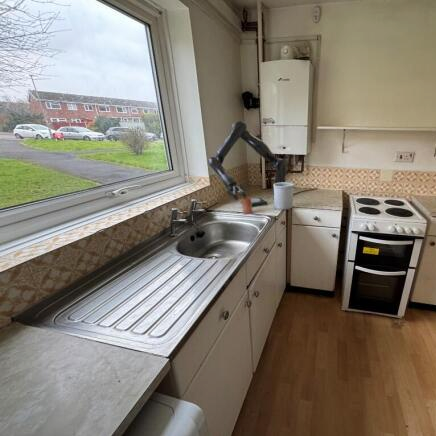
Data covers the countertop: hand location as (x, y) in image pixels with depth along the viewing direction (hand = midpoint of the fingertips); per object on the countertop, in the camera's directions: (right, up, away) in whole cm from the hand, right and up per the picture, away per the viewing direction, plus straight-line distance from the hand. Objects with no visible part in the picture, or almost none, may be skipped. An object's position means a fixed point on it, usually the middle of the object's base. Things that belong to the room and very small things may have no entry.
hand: (241, 198), depth 163 cm
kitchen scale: (+5, -3, +21) cm, 22 cm away
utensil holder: (+29, -6, +13) cm, 32 cm away
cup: (+4, -10, +1) cm, 11 cm away
